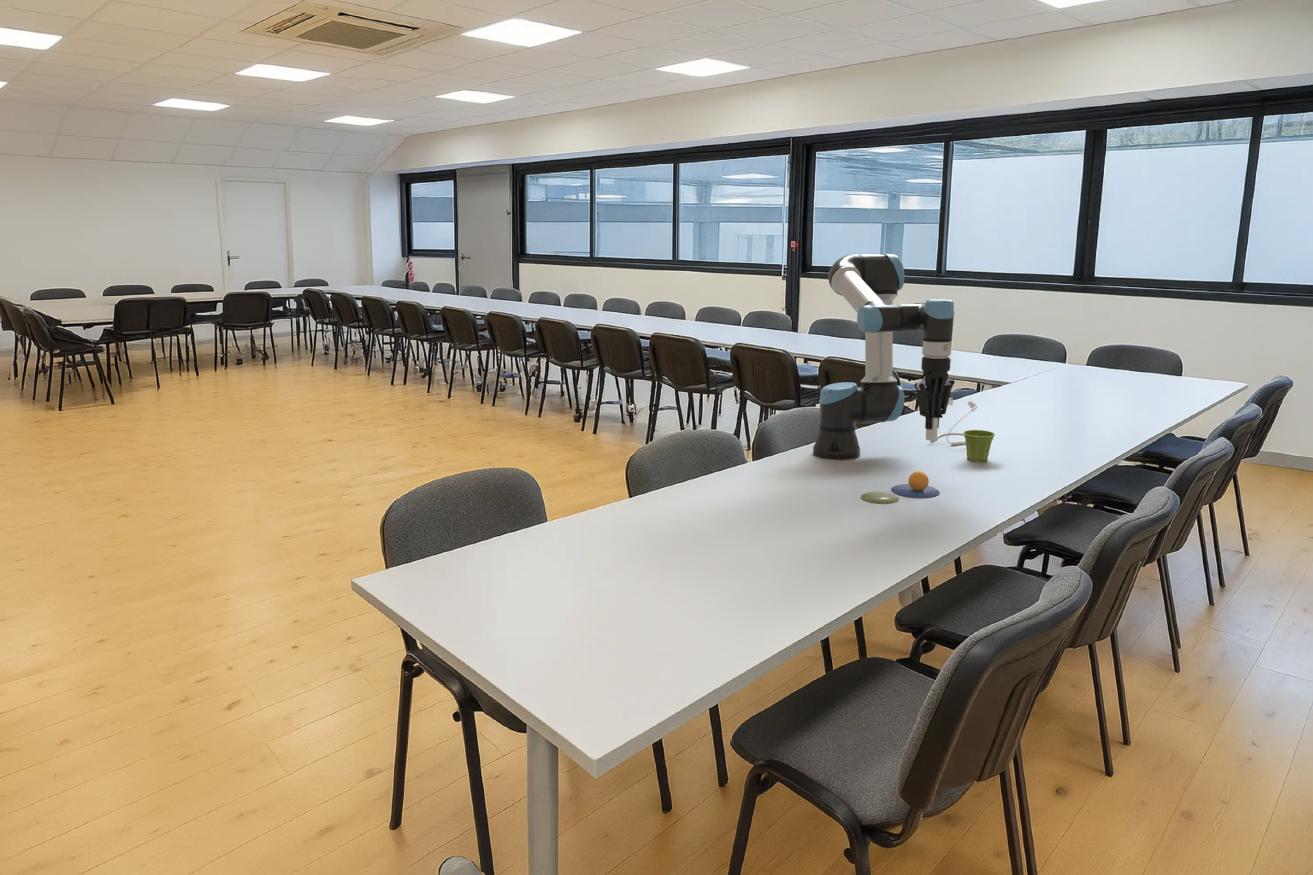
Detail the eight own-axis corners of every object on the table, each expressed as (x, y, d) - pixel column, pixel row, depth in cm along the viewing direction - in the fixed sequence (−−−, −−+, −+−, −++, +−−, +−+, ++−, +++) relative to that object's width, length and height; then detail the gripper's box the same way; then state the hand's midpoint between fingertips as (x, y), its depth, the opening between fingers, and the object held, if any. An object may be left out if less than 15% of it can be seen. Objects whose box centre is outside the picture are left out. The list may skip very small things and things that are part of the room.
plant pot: (995, 463, 267) (997, 436, 265) (963, 462, 269) (965, 435, 267) (990, 456, 276) (992, 430, 274) (959, 455, 278) (961, 429, 276)
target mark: (881, 488, 242) (881, 488, 242) (915, 482, 248) (915, 481, 248) (914, 500, 231) (914, 499, 231) (949, 493, 237) (949, 492, 237)
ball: (914, 491, 243) (901, 486, 240) (920, 472, 243) (907, 467, 240) (929, 494, 238) (916, 490, 236) (935, 476, 238) (922, 471, 236)
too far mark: (853, 496, 236) (853, 495, 236) (881, 490, 240) (881, 490, 240) (878, 505, 227) (878, 504, 227) (906, 500, 232) (906, 499, 232)
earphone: (918, 431, 295) (942, 393, 301) (933, 461, 305) (956, 424, 311) (954, 437, 285) (978, 398, 291) (968, 468, 295) (991, 429, 301)
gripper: (928, 359, 227) (923, 445, 233) (964, 356, 233) (958, 440, 238) (908, 356, 234) (903, 440, 239) (943, 353, 239) (938, 434, 245)
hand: (931, 440), depth 239 cm, fingers closed
